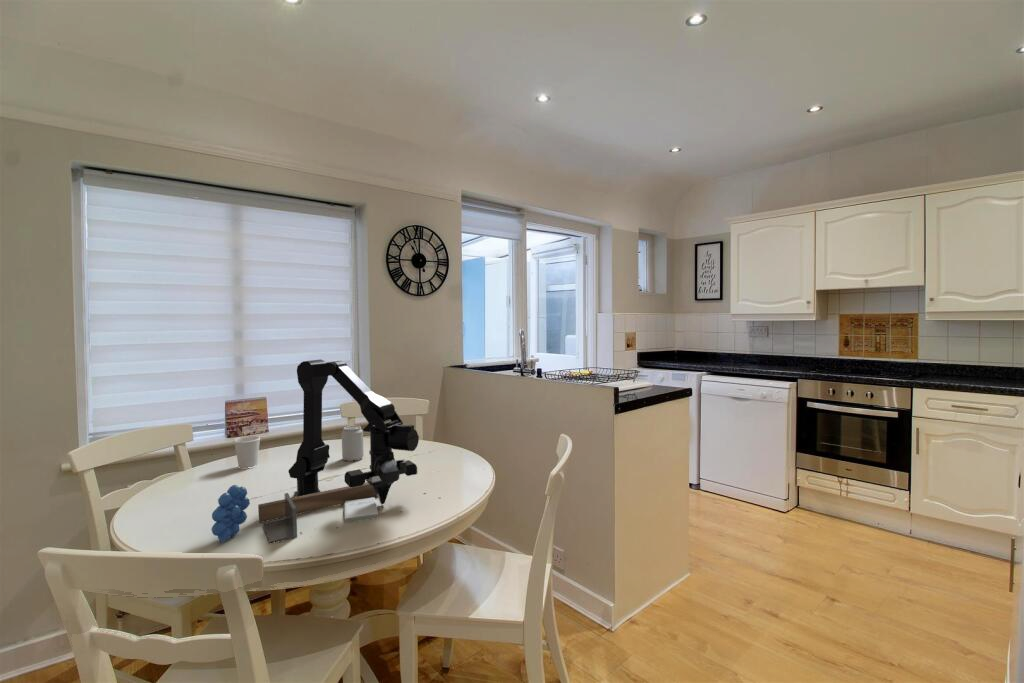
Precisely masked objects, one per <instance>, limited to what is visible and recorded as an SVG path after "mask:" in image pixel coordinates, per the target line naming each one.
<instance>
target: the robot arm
mask: <svg viewBox="0 0 1024 683" xmlns="http://www.w3.org/2000/svg"><path fill="white" fill-rule="evenodd" d="M296 374H297V382H298V385H299V386H300V388H301V389H302V391H303V410H302V412H303V421H302V422H303V424H302V425H303V427H302V428H303V431H302V432H303V434H302V436H303V439H302V441H301V444H300V446H299V447H298V450H297V453H296V461H295V462H294V463H293V465H292V466H291V467H290V468H289V469H288V474H289V477H290V478H291V479H296V489H297V490H296V491H294V495H295V497H298V496H303V495H308V494H313V493H318V492H322V491H321V490H320V489H319V472H321V471H324V470H325V466H326V464H327V463H328V461H329V459H330V458H331V456H330V445H329V444H327V443H325V442H324V440H323V436H322V432H323V430H322V429H323V427H322V426H323V421H322V420H323V390H324V388H325V386H326V384H327V383H328V380H329V377H330V376H331V377H332V378H333V379H334V380H335V381H336V382H337V383H338V384H339V385H340V387H342V388H343V389H344V390H345V392H347V394H349V395H350V396H351V397H352V398H353V399H354V401H355V402H357V404H358V405H359V407H360V412H361V415H363V417H364V419H365V420H366V421H367V423H368V424H367V425H366V426H365V427H363V428H362V430H363V432H368V433H369V445H370V447H369V448H370V450H369V455H370V465H369V470H370V471H364V472H363V471H362V470H361V469H359V468H358V469H353V470H349V471H348V470H347V471H346V472H345V474H344V476H343V477H344V483H345V484H346V485H347V486H349V487H357V486H362V485H363V484H364V483H367V482H368V483H369V484H370V485H371V486H373V487H374V489H375V491H376V494H377V498H378V501H379V503H380V504H381V505H384V504H385V503H386V501H387V497H388V496H389V495H388V494H389V491H390V489H391V487H392V485H393V483H395V482H398V480H400V475H404V474H405V475H406V476H407V477H410V476H414V475H418V466H417V464H416V463H415V462H413V461H411V460H410V459H409V460H408V459H407V460H405V459H398V460H396V458H395V454H394V451H393V450H397V451H406V452H414V451H415V450H416V449H417V447H418V445H419V441H420V440H419V439H420V437H419V434H418V432H417V430H416V429H415V425H414V424H404V422H403V420H402V419H401V418H400V416H399V415H398V413H397V412H396V410H395V409H396V407H395V406H394V404H393V403H392V402H391V401H390V400H388V399H387V398H386V397H384V396H382V395H379V394H377V393H375V392H374V391H372V390H371V389H370V387H368V386H367V385H366V383H365V382H363V380H361V378H360V377H359V376H358V375H357V374H356V373H355V372H354V371H353V370H352V369H351V368H350V367H349V366H348V364H347V363H346V361H344V360H337V361H330V362H328V361H327V362H326V360H323V359H314V360H313V359H311V360H305V361H301V362H300V363H299V364H297V367H296Z"/></svg>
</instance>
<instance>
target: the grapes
mask: <svg viewBox="0 0 1024 683" xmlns="http://www.w3.org/2000/svg"><path fill="white" fill-rule="evenodd" d="M247 495H248V491H247V488H246V487H245V486H239V485H238V484H233V485H231V486H229V488H228V489H227V492H224V493H222V494H221V495H220V496H219V497H218V499H217V504H218V506H217V507H216V508H215V509H214V510H213V512H212V513H211V518H212V520H213V522H215V523H214V524H213V525H212V527H211V533H212V535H213V536H215V537H216V536H217V540H218V541H219V542H221V543H223V542H225V541H227V540H228V539H229V538H233V537H235V536H236V535H237V534H238V533H239V532H240V525H242V524H243V523H245V521H246V520H247V517H248V516H247V515H248V514H247V513H246V512H245V510H246V509H247V508H248V507H249V506H250V504H251V503H250V499H249V498H248V497H247Z"/></svg>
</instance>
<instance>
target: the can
mask: <svg viewBox="0 0 1024 683" xmlns="http://www.w3.org/2000/svg"><path fill="white" fill-rule="evenodd" d="M364 450H365V449H364V431H363V428H362V427H361V425H349V426H345V427H343V430H342V431H341V456H342V459H343V460H344V461H345V460H347V461H346V462H354V461H353V460H357V461H359V460H358V459H360V460H362V458H363V457H364Z"/></svg>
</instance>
